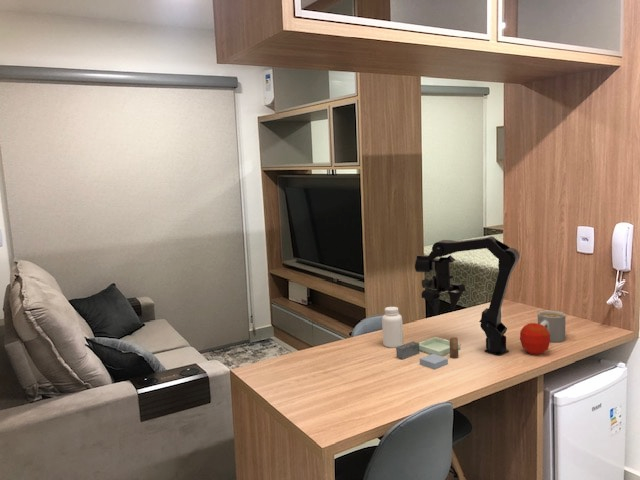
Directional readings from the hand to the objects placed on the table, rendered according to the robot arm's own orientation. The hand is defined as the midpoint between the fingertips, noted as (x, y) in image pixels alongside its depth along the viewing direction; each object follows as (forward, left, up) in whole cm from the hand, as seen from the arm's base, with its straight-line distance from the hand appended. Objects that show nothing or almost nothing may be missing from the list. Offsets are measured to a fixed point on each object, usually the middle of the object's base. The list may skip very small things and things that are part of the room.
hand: (444, 312), depth 206 cm
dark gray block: (+2, +19, -13) cm, 23 cm away
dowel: (-11, +8, -13) cm, 19 cm away
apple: (-28, -16, -13) cm, 35 cm away
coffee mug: (-24, -32, -13) cm, 42 cm away
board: (-10, +19, -13) cm, 25 cm away
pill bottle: (+15, +14, -13) cm, 24 cm away
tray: (-1, +6, -13) cm, 14 cm away
